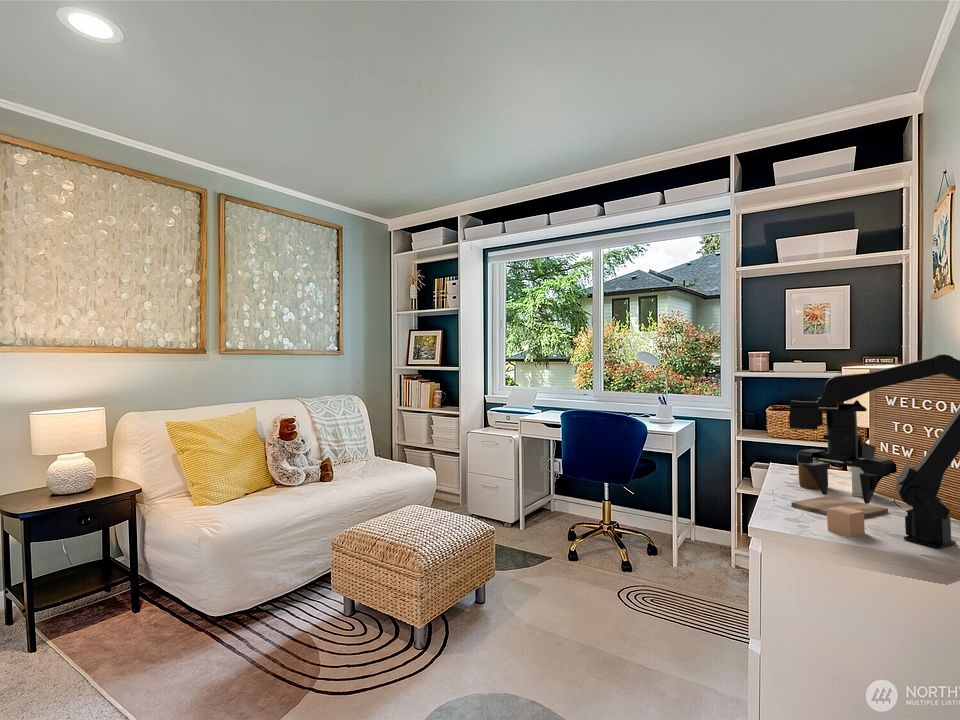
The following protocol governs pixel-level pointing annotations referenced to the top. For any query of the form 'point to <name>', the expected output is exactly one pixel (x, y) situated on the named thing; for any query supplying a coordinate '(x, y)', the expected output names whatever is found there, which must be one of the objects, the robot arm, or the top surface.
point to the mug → (807, 478)
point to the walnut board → (837, 505)
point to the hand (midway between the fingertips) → (845, 498)
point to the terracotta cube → (845, 521)
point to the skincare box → (856, 481)
